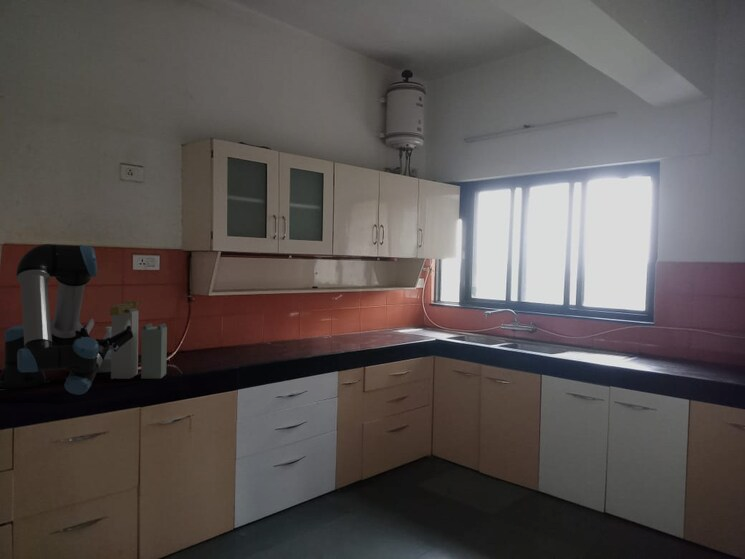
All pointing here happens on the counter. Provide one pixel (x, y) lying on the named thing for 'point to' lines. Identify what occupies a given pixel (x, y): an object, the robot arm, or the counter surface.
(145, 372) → the upright grey pillar
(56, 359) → the robot arm
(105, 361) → the cereal bowl
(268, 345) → the counter surface
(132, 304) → the brass pin
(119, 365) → the block
